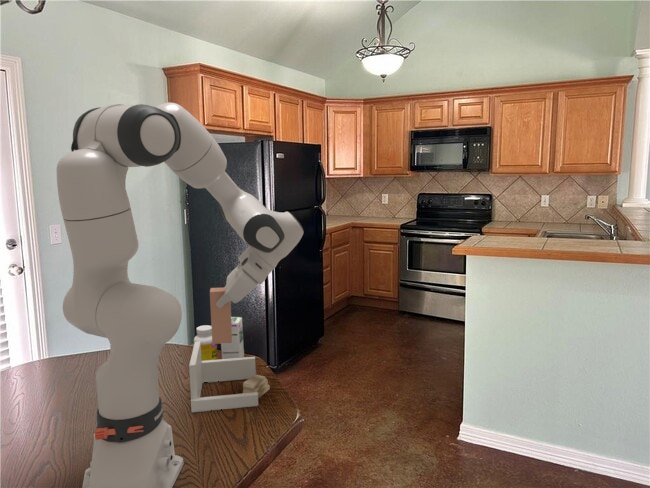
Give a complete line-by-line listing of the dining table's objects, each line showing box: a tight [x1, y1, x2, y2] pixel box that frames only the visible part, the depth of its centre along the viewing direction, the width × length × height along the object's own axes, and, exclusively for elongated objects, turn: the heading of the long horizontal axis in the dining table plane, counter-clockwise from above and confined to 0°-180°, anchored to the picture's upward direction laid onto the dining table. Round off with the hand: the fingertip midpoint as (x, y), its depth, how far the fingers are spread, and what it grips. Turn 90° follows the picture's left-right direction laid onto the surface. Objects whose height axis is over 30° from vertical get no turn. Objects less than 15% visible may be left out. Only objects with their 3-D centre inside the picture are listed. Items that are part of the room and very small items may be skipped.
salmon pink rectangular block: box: [209, 286, 232, 345], centre depth 123 cm, size 4×5×14 cm
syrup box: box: [220, 316, 245, 359], centre depth 143 cm, size 6×6×14 cm
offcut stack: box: [241, 374, 271, 399], centre depth 125 cm, size 8×4×4 cm, turn 154°
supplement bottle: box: [193, 324, 218, 361], centre depth 141 cm, size 7×7×13 cm
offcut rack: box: [188, 341, 259, 413], centre depth 125 cm, size 18×16×12 cm
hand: (218, 302), depth 122 cm, fingers closed on salmon pink rectangular block, 4 cm apart
